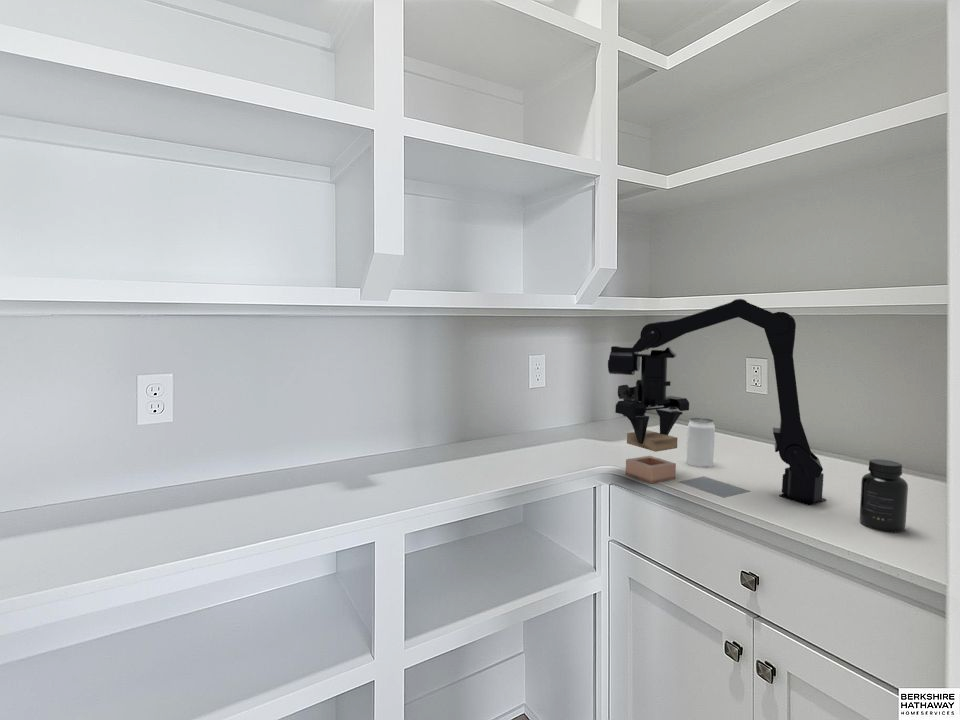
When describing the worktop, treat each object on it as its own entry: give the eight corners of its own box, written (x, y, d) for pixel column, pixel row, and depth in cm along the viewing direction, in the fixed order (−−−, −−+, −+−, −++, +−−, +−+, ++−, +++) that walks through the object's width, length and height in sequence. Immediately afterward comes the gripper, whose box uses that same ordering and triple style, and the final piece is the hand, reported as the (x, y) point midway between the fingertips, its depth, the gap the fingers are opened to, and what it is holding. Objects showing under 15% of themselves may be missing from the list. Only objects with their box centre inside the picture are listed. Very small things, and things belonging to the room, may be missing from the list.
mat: (750, 492, 115) (750, 490, 115) (723, 499, 111) (723, 497, 111) (703, 478, 126) (703, 476, 126) (677, 483, 122) (677, 481, 122)
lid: (677, 448, 123) (677, 437, 122) (655, 451, 119) (655, 440, 119) (647, 440, 131) (648, 430, 130) (626, 443, 127) (627, 433, 127)
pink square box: (675, 480, 124) (675, 463, 124) (650, 485, 120) (651, 467, 120) (649, 471, 131) (649, 455, 131) (625, 475, 127) (626, 459, 127)
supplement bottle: (863, 516, 102) (867, 455, 101) (908, 526, 97) (913, 462, 96) (854, 525, 98) (859, 461, 97) (901, 536, 93) (906, 469, 92)
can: (684, 466, 136) (686, 420, 135) (687, 460, 141) (689, 416, 140) (712, 470, 133) (714, 423, 132) (714, 463, 138) (716, 418, 137)
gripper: (655, 371, 135) (653, 431, 136) (599, 374, 126) (598, 439, 127) (691, 375, 125) (689, 440, 127) (634, 379, 116) (632, 449, 118)
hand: (651, 441), depth 125 cm, fingers closed on lid, 7 cm apart
